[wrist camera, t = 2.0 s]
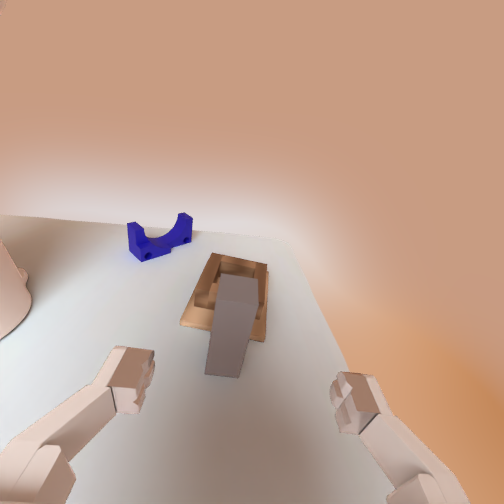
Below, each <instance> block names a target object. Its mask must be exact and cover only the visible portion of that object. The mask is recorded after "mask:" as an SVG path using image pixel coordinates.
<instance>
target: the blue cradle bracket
mask: <svg viewBox="0 0 504 504" xmlns="http://www.w3.org/2000/svg"><path fill="white" fill-rule="evenodd" d="M192 220H193V218H192V217H190V216H189V215H187V214H186V213H179V214H178V219H177V221H176V224H175V225H174V227H173V228H172V229H171V230H170V231H169V232H168V233H167V234H165V235H163V236H161V237H158V238H149V237H146V236H145V233H144V228H142V227H141V226H140V225H139V224H138V223H136V222H131V223H127V228H128V239H129V251H130V252H131V253H132V254H133V255H134V256H135V257H136V258H138V259H139V260H140V261H141V262H143V261H146V260H150V259H153V258H156V257H159V256H162V255H166V254H169V253H171V248H173V247H176V246H180V245H183V244H186V243H190V242H191V237H192V222H193V221H192Z"/></svg>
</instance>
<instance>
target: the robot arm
mask: <svg viewBox="0 0 504 504" xmlns="http://www.w3.org/2000/svg"><path fill="white" fill-rule="evenodd" d="M6 2H7V0H0V15H1V13H2V12H3V10H4V8H5V5H6ZM27 279H28V274H27V273H26V271H25V269H23V268H17V267H16V266H15V264H14V262H13V260H12V258H11V257H10V255H9V253H8V251H7V250H6V248H5V246H4V244H3V243H2V241H1V239H0V339H1V338H2V337H4V336H5V335H7V334H8V333H9V332H10V331H12V330H13V329H14V328H15V327H16V326H17V325H18V324H19V323H20V322H21V321H22V320H23V319H24V317H25V316H26V314H27V313H28V311H29V309H30V306H31V301H32V300H31V295H30V293H29V291H28V290H27V288H26V282H27ZM153 358H154V350H147V349H139V348H131V347H124V346H115V347H114V348H113V349H112V351H111V352H110V354H109V356H108V357H107V359H106V361H105V362H104V364H103V366H102V368H101V369H100V371H99V373H98V374H97V376H96V378H95V379H94V381H93V383H92V384H91V385H86V386H85V387H83V388H82V389H81V390H79V391H78V392H77V393H75V394H74V395H72V396H71V397H70V398H68V399H67V400H66V401H64V402H63V403H61V404H60V405H59V406H57V407H56V408H55V409H53V410H52V411H50V412H49V413H48V414H46V415H45V416H43V417H42V418H41V419H39V420H38V421H37V422H35V423H34V424H32V425H31V426H30V427H28V428H27V429H26V430H24V431H23V432H21V433H20V434H19V435H17V436H16V437H15V438H13V439H12V440H11V441H10V442H9V443H8V445H7V446H6V447H5V449H4V450H3V451H2V453H1V454H0V504H65V502H66V500H67V498H68V496H69V494H70V491H71V489H72V487H73V485H74V483H75V481H76V477H75V474H74V472H73V470H72V468H71V466H70V464H69V463H68V462H69V461H70V460H71V459H72V458H73V457H74V456H75V455H76V454H77V453H78V452H79V451H80V450H81V449H82V448H83V447H84V446H85V445H86V444H87V443H88V442H89V441H90V440H91V439H92V438H93V437H94V436H95V435H96V434H97V433H98V432H99V431H100V430H101V429H102V428H103V427H104V426H105V425H106V424H107V423H108V422H109V421H110V420H111V419H112V418H113V417H114V416H115V415H116V413H124V414H139V413H140V410H141V407H142V405H143V402H144V399H145V397H146V396H145V389H146V388H147V387H149V386H150V383H151V381H152V378H153V374H154V369H155V362H154V361H153ZM330 399H331V402H332V405H333V406H334V407H335V408H336V410H337V411H336V414H335V417H336V421H337V425H338V428H339V432H340V433H347V434H355V435H359V438H360V439H361V440H362V442H363V443H364V445H365V446H366V447H367V449H368V450H369V452H370V453H371V455H372V456H373V457H374V459H375V460H376V462H377V463H378V464H379V466H380V467H381V469H382V470H383V472H384V473H385V474H386V476H387V477H388V479H389V480H390V481H391V483H392V484H393V486H394V487H395V489H396V490H395V491H393V492H392V493H390V494H389V495H388V496H387V498H386V500H387V503H388V504H471V503H470V501H469V499H468V497H467V496H466V494H465V492H464V490H463V488H462V487H461V485H460V483H459V481H458V480H457V478H456V476H455V475H454V474H453V473H452V472H451V470H450V469H448V467H447V466H446V465H444V463H442V461H441V460H440V459H439V458H438V457H437V456H436V455H435V454H434V453H433V452H432V451H431V450H430V449H429V448H428V447H427V446H426V445H425V444H424V443H423V442H422V441H421V440H420V439H419V438H418V437H417V436H416V435H415V434H414V433H413V432H412V431H411V430H410V429H409V428H408V427H407V426H406V425H405V424H404V423H403V422H402V421H401V420H400V419H399V418H398V417H397V416H394V415H393V414H392V411H391V409H390V407H389V405H388V403H387V401H386V399H385V396H384V394H383V392H382V390H381V388H380V386H379V384H378V382H377V379H376V378H375V377H374V376H373V375H367V374H360V373H350V372H339V373H338V374H337V380H335V381H333V382H332V384H331V386H330Z"/></svg>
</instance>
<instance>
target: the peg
mask: <svg viewBox="0 0 504 504" xmlns="http://www.w3.org/2000/svg"><path fill="white" fill-rule="evenodd" d="M258 306H259V301H258V279H254V278H248V277H242V276H235V275H229V274H223V273H221V277H220V282H219V287H218V292H217V297H216V303H215V310H214V316H213V323H212V329H211V336H210V343H209V349H208V356H207V362H206V369H205V374H208V375H217V376H225V377H234V378H238V377H239V373H240V370H241V366H242V362H243V359H244V355H245V352H246V348H247V345H248V341H249V338H250V334H251V331H252V327H253V323H254V320H255V316H256V313H257V309H258Z"/></svg>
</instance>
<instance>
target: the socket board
mask: <svg viewBox="0 0 504 504" xmlns="http://www.w3.org/2000/svg"><path fill="white" fill-rule="evenodd" d="M221 273H223V274H229V275H235V276H242V277H248V278H254V279H258V301H259V306H258V309H257V313H256V316H255V320H254V323H253V327H252V331H251V334H250V338H249V339H250V340H255V341H260V342H264V340H265V331H266V312H267V293H268V274H269V271H267V264H263V263H258V262H254V261H249V260H244V259H240V258H235V257H230V256H225V255H221V254H216V253H212V254H211V256H210V258H209V259H208V262H207V264H206V266H205V268H204V270H203V272H202V274H201V276H200V279H199V281H198V283H197V285H196V287H195V289H194V291H193V294H192V296H191V298H190V300H189V302H188V304H187V306H186V309H185V311H184V313H183V315H182V317H181V319H180V325H182V326H187V327H192V328H197V329H202V330H207V331H211V329H212V323H213V316H214V310H215V303H216V297H217V292H218V287H219V282H220V277H221Z"/></svg>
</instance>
